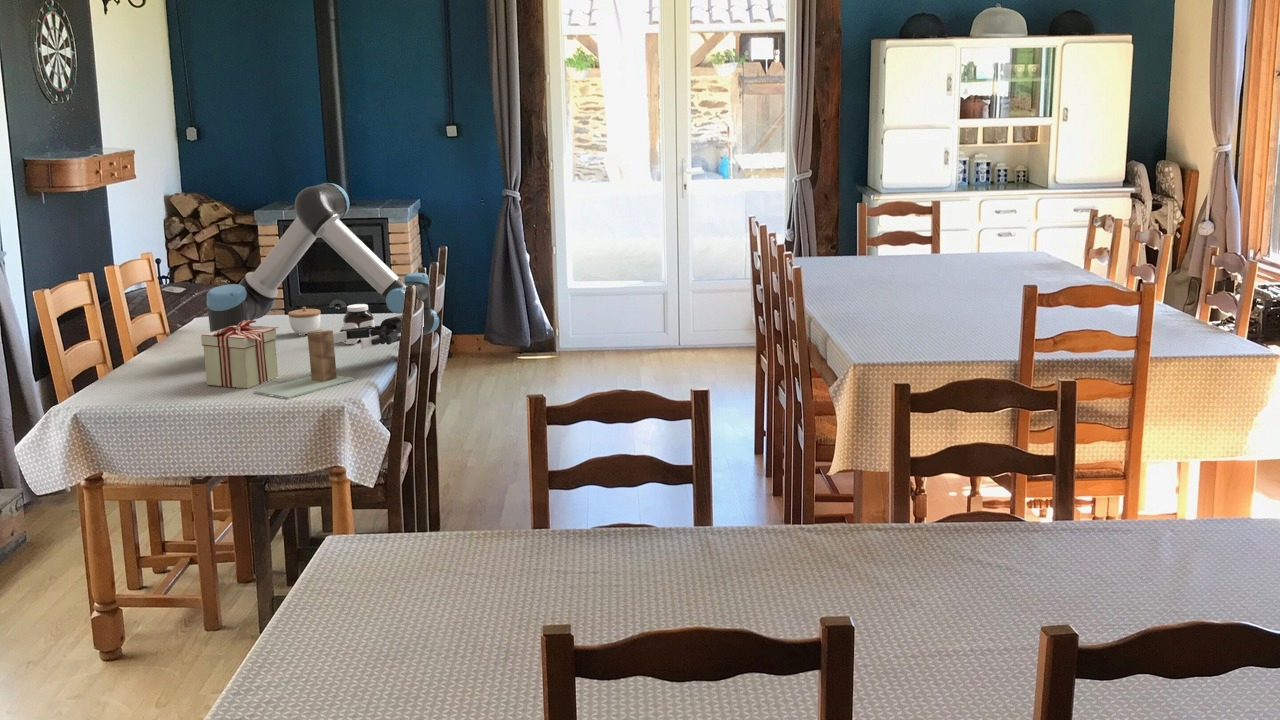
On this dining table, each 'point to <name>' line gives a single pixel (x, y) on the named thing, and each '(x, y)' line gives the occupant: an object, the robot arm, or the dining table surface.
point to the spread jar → (357, 320)
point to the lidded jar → (304, 320)
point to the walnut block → (322, 355)
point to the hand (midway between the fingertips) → (345, 341)
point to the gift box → (240, 355)
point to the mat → (301, 386)
